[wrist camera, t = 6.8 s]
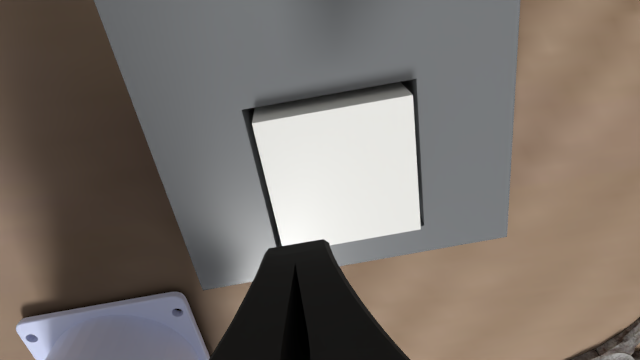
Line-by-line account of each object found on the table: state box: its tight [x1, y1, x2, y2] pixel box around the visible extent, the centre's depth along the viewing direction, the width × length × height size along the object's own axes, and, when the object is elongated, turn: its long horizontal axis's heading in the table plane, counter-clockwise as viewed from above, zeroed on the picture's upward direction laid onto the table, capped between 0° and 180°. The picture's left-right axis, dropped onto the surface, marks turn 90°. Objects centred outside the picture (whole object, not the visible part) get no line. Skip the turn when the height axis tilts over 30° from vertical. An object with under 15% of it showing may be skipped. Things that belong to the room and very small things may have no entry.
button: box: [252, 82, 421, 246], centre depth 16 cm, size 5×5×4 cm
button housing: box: [94, 0, 520, 290], centre depth 14 cm, size 17×12×3 cm
